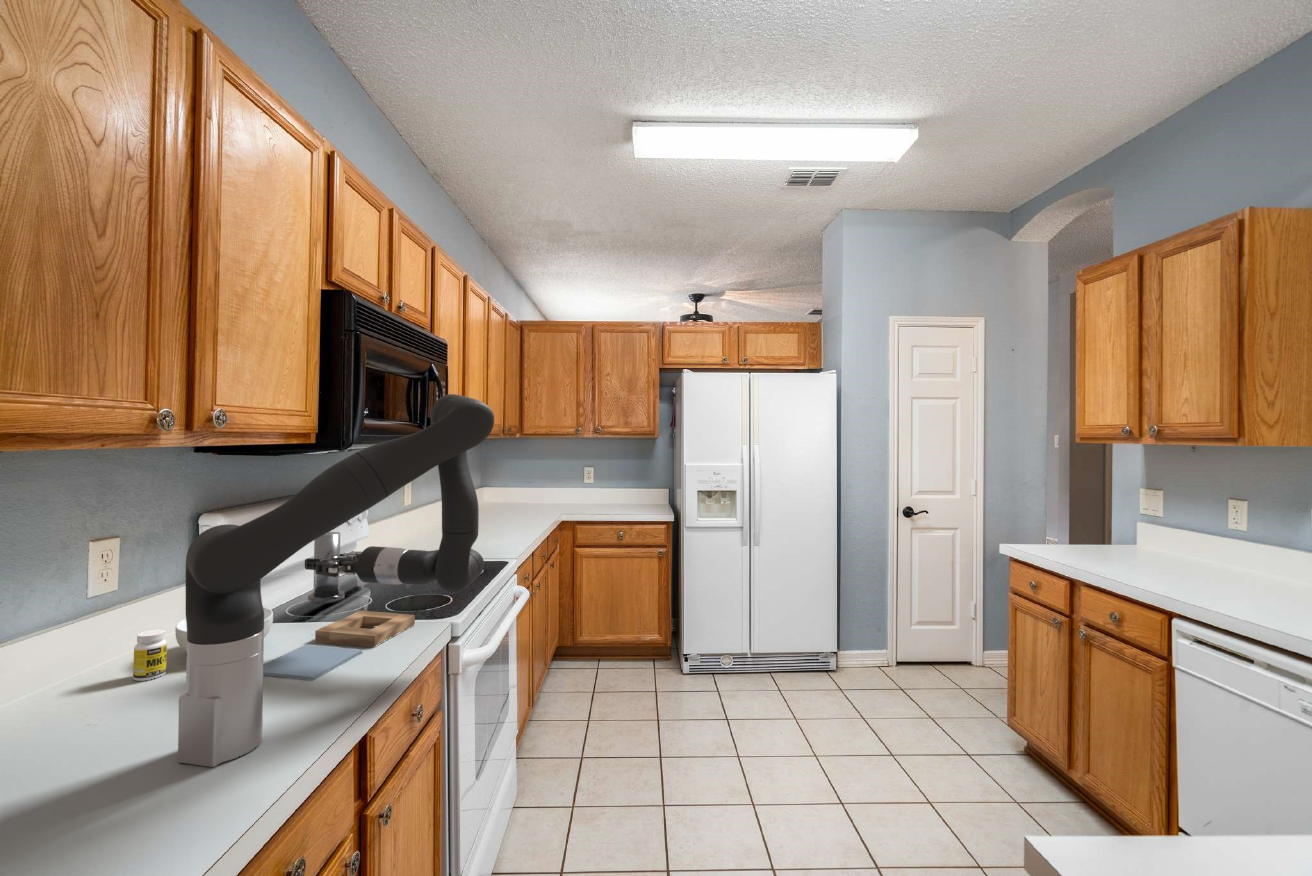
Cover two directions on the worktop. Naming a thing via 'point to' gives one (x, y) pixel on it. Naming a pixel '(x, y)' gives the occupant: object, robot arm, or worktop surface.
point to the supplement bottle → (150, 655)
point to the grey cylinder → (324, 585)
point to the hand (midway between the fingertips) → (315, 561)
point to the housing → (353, 634)
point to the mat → (308, 662)
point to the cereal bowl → (182, 628)
